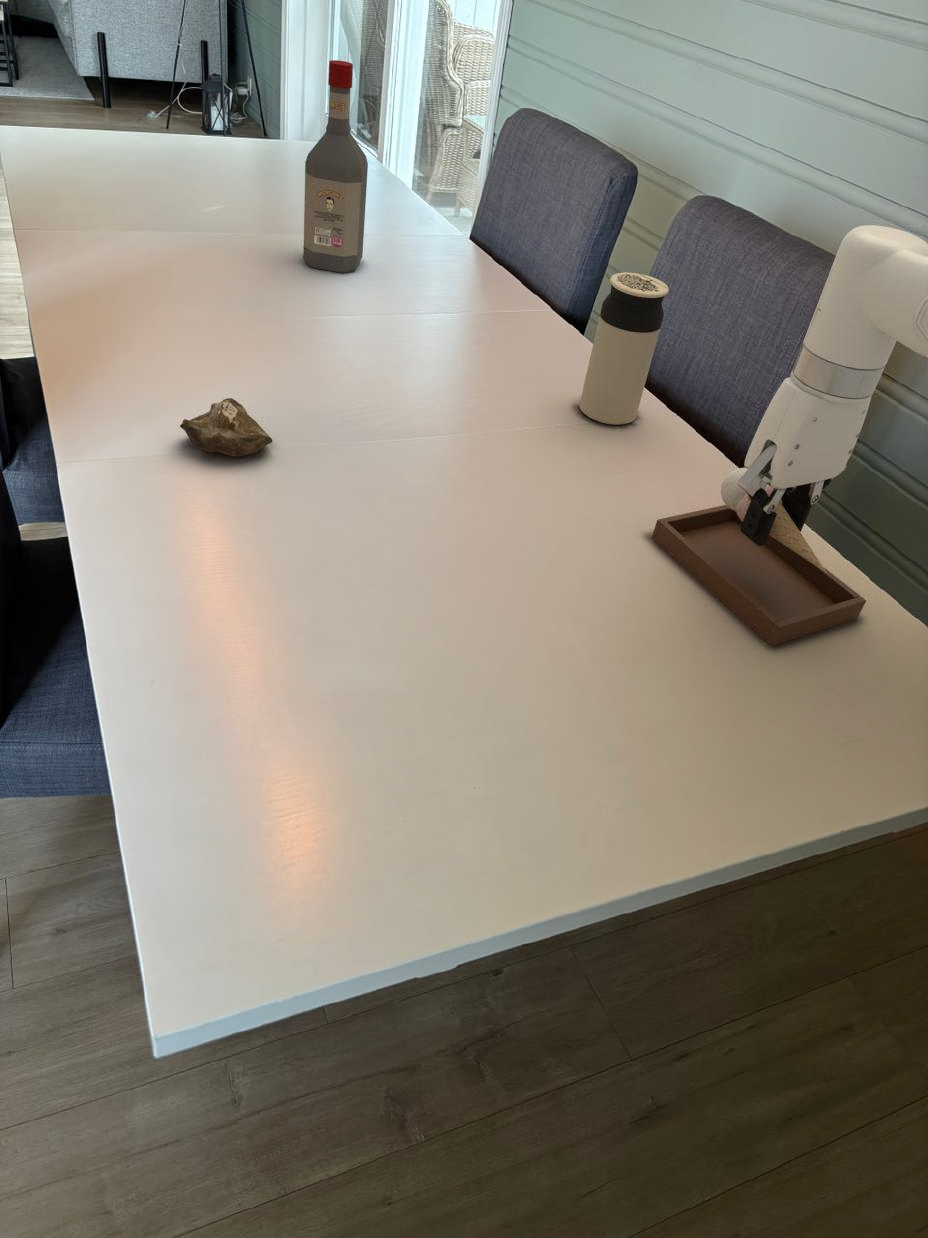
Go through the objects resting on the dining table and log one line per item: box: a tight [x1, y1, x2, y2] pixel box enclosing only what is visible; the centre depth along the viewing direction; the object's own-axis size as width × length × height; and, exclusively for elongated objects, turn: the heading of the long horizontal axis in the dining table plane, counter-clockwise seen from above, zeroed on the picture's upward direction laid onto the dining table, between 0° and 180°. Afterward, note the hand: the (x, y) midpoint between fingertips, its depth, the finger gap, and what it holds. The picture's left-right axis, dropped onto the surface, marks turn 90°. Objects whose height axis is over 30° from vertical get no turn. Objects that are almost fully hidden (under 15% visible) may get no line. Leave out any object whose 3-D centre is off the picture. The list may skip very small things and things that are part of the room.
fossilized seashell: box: [179, 397, 273, 458], centre depth 104 cm, size 8×7×10 cm
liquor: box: [302, 59, 369, 274], centre depth 148 cm, size 9×9×30 cm
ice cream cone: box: [720, 467, 828, 574], centre depth 95 cm, size 5×5×15 cm
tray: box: [651, 504, 867, 647], centre depth 99 cm, size 20×13×2 cm, turn 29°
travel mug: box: [578, 272, 670, 426], centre depth 120 cm, size 8×8×18 cm
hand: (769, 532), depth 96 cm, fingers closed on ice cream cone, 4 cm apart
